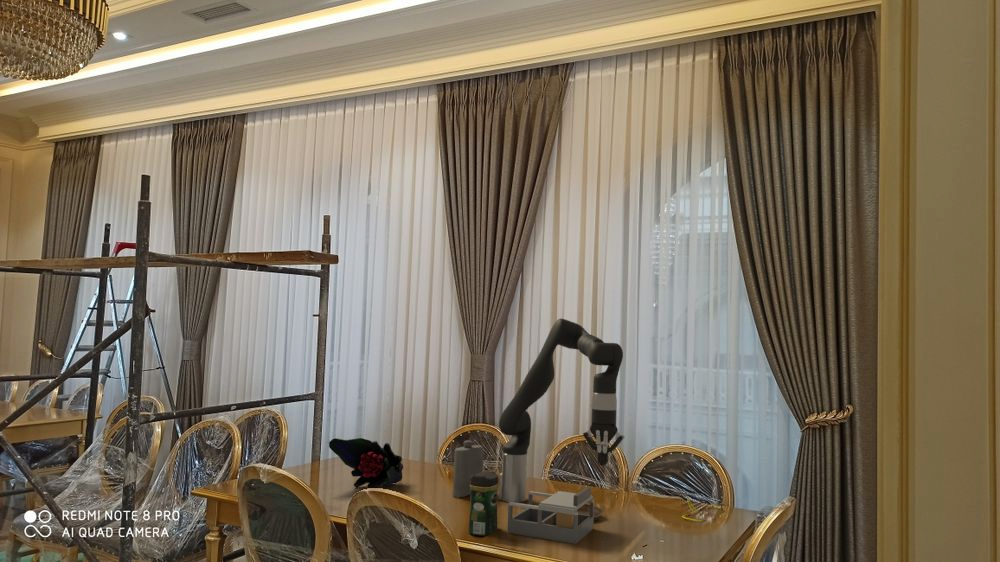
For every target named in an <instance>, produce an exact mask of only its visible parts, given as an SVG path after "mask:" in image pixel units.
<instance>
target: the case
mask: <svg viewBox="0 0 1000 562" xmlns="http://www.w3.org/2000/svg"><path fill="white" fill-rule="evenodd" d="M553 494H554V493H553ZM553 494H552V493H545V492H540V491H539V492H538V491H532V490H530V491H528V499H527V500H528V502H527V504H526V503H522V502H516V503H514V502H508V510H507V512H508V514H507V533H509V534H515V535H520V536H527V537H533V538H539V539H545V540H552V541H555V542H556V541H558V542H563V543H568V544H574V545H575V544H576V545H577V544H578V543H579V542H580V541H581V540H583V539H584V538H585V537H586V536H587V535H588V534H589V533H591V531H592V530H594V506H595V500H594V499H593V500H590V501H588V502H587V503H589V505H590V515H584V514H578V512H576V511H575V514H572V515H574V521H573V528H568V527H562V526H556V512H558V511H551V510H544V509H538V508H539V505H536V504H535V505H534V504H533V496H540V497H545V498H546V497H547V498H548V497H550V496H552V495H553ZM514 507H517V508H518V507H519V508H525V509H523V510H521V511H520V512H518V513H516V514H514V515H513V510H514V509H513V508H514ZM558 513H564V512H558ZM565 514H571V513H565Z"/></svg>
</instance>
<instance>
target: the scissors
mask: <svg viewBox="0 0 1000 562" xmlns="http://www.w3.org/2000/svg"><path fill="white" fill-rule="evenodd" d="M687 505H688V506H689V508H690V510H691V511H692V512H693V511H694V512H696V511H697V509H696V508H695V507H694V505H693V504H692V502H691V499H690V498H688V499H687ZM706 506H708V507H712V505H711V504H710V505H709V504H708V505H706ZM713 506H714V507H713V508H716V507H718V508H717V509H719V508H720V507H719V506H716V505H713ZM685 515H686V514H683V515H682V516H681V517H682V518H683V519H686V520H689V521H694V522H703V521H702V520H703V519H701V520H699V519H695V518H691V517H690V518H689V517H686V516H685Z"/></svg>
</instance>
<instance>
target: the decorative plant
mask: <svg viewBox="0 0 1000 562" xmlns="http://www.w3.org/2000/svg"><path fill="white" fill-rule="evenodd" d="M328 447H329V449H330V450H331V451H332V452H333V453H334V454H335V455H337V456H338V458H339V459H340V460H341V461H342V463H344V465H346V466H347V467H349V468H351V469H353V470H352V471H351V472H350V474H351V476H352V477H358V479H357V480H356V481H355V482H354V483H353V487H354V486H355V487H357V488H359V487H361V486H363V485H366V484H367V485H366V489H367V488H375V489H376V488H377V487H378V486H380V485H382V486H383V488H386V487H388V486H390V485H393V484H392V483H395V484H397V483H399V482H402V479H403V469H404V464H403V463H402V461H403V458H402V455H398V454H395V453H394V452H393V450H392V448H391V445H390V443H388V442H385V443H384V444H383V447H381V446H380V444H379V442H378V441H377V440H373V441H372V440H369V439H365V438H363V437H358V438H352V439H341V438H335V437H334V438H332V439H331V440H329V442H328ZM355 487H354V488H355Z"/></svg>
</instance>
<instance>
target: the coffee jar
mask: <svg viewBox="0 0 1000 562" xmlns="http://www.w3.org/2000/svg"><path fill="white" fill-rule="evenodd" d="M499 484H500V481H499V475H498V473H496V471H490V470H482V472H481V473H478V474H475V475H473V476H471V477H470V491H471V495H470V499H469V502H470V503H469V515H468V516H469V517H468V533H469V534H470V535H472V536H475V535H479V536H478V537H487V536H489V535H491V534H492V533H494V532H496V531H497V530H498V494H499V491H498V490H499Z"/></svg>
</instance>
